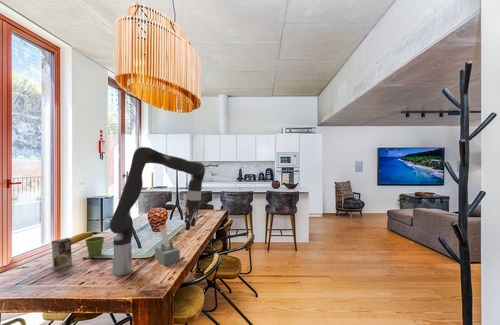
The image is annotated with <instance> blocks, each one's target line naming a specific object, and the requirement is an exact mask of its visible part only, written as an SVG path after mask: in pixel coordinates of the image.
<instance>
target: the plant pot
mask: <svg viewBox="0 0 500 325" xmlns="http://www.w3.org/2000/svg"><path fill="white" fill-rule="evenodd" d="M104 239H106V237H105V236H94V237H89V238H86V239H84V242H85V244H86V248H87V252H88V257H91V258H92V257H93V258H95V257H94V256H96V257H98V255H99V256H101V255H102V251H103V244H104V241H105V240H104ZM100 254H101V255H100Z"/></svg>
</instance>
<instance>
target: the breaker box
mask: <svg viewBox="0 0 500 325" xmlns="http://www.w3.org/2000/svg"><path fill="white" fill-rule="evenodd" d="M169 244H170V247H169V248H164V243H160V246H157V247H154V254H155V255H154V258H155V260H157V261H158V262H159V264H162V265H163V266H164V267H166V266H169V265H173V264H176V263H179V262H181V254H180V252H181V251H180V250H179V249H178V248H176V247H175V246H174V245H173V244H174V243H173V241H169Z"/></svg>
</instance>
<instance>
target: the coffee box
mask: <svg viewBox="0 0 500 325" xmlns="http://www.w3.org/2000/svg"><path fill="white" fill-rule="evenodd" d="M71 241H72V240H71V238H69V237H66V238H60V239H56V240H52V241H51V255H52V268H53V270H57V269H62V268H66V267H68V266H72V265H73V261H72V258H73V257H72V256H73V255H72V242H71Z"/></svg>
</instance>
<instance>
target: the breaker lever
mask: <svg viewBox="0 0 500 325" xmlns="http://www.w3.org/2000/svg"><path fill="white" fill-rule="evenodd" d="M166 228H167V226H166V224H160V225H159V226H158V229H159V230H160V235H161V237H162V242H163V244H164V248H169V247H170V241H169V237H168V232H167V229H166Z"/></svg>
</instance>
